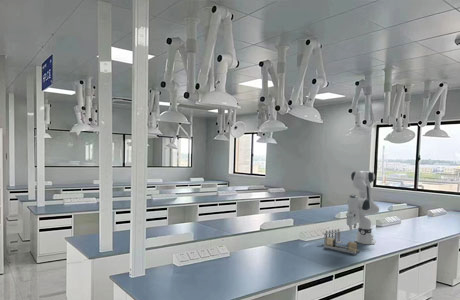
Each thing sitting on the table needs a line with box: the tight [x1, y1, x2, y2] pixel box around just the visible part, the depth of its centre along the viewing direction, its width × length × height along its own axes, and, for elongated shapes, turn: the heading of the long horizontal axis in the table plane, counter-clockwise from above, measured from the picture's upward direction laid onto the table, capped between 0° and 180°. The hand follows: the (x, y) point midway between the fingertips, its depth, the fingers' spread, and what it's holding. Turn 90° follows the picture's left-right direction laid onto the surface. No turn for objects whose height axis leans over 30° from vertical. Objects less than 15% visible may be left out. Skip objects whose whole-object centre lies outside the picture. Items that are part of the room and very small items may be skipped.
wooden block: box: [347, 241, 358, 252], centre depth 278 cm, size 4×7×8 cm, turn 49°
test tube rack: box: [321, 228, 343, 246], centre depth 307 cm, size 25×4×13 cm, turn 123°
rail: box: [323, 236, 360, 256], centre depth 284 cm, size 10×28×9 cm, turn 49°
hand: (352, 229), depth 278 cm, fingers open, 8 cm apart
